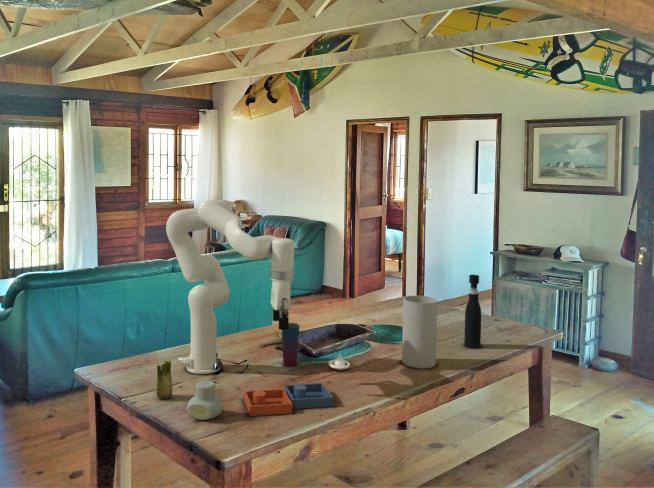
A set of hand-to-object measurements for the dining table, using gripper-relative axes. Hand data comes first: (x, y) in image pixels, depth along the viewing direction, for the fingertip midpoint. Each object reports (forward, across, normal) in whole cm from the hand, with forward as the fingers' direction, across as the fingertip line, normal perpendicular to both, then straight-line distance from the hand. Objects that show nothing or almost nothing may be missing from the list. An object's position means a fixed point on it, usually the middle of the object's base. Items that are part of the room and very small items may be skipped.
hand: (280, 324), depth 204 cm
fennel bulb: (+23, +3, -38) cm, 45 cm away
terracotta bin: (+22, +15, -6) cm, 27 cm away
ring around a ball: (+22, -15, +26) cm, 37 cm away
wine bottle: (+21, -33, +90) cm, 98 cm away
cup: (+22, -22, +9) cm, 33 cm away
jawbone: (+23, -52, +7) cm, 58 cm away
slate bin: (+22, +12, +8) cm, 26 cm away
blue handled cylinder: (+21, +12, +8) cm, 25 cm away
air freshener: (+22, +19, -26) cm, 39 cm away
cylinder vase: (+21, -16, +58) cm, 64 cm away
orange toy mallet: (+21, +15, -6) cm, 27 cm away
